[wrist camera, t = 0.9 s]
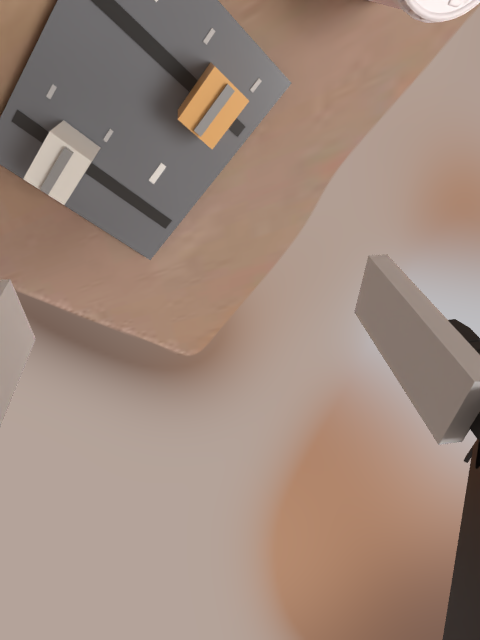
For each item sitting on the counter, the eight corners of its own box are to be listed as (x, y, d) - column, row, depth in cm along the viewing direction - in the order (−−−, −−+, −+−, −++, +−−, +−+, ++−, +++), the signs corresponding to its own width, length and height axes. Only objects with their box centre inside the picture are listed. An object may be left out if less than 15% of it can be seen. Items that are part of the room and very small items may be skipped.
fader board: (-12, 149, 30) (-18, 153, 29) (117, -110, 23) (114, -117, 22) (150, 254, 37) (150, 260, 36) (287, 81, 30) (291, 83, 29)
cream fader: (39, 163, 30) (21, 180, 27) (63, 120, 29) (47, 132, 25) (75, 187, 32) (62, 207, 28) (100, 147, 30) (90, 163, 26)
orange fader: (177, 109, 29) (177, 120, 26) (210, 62, 28) (215, 66, 24) (208, 137, 31) (212, 151, 27) (241, 93, 29) (250, 102, 26)
